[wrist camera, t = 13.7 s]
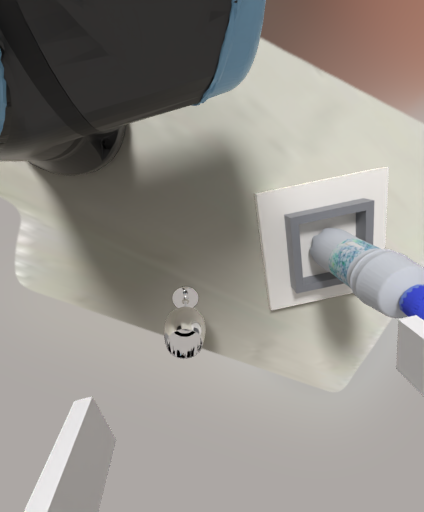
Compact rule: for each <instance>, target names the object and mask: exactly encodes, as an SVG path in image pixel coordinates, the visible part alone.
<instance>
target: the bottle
mask: <svg viewBox="0 0 424 512" xmlns="http://www.w3.org/2000/svg"><path fill="white" fill-rule="evenodd" d="M310 254H311V256H312V257H313V259H314V261H315V262H316V263H317V264H318V265H319V266H321V267H322V268H324V269H325V270H327V271H329V272H330V273H332V274H333V275H334V276H336V277H337V278H338V279H340V280H341V281H342V282H343V283H345V284H346V285H347V286H349V287H350V288H351V289H352V292H353V293H354V294H355V296H357V297H358V298H359V299H360V300H361V301H362V302H363V303H364V304H366V305H368V306H370V307H372V308H374V309H376V310H377V311H379V312H381V313H383V314H384V315H386V316H389V317H392V318H403V317H411V316H415V315H417V316H418V317H420V318H421V319H423V320H424V267H422V266H421V265H419V264H417V263H416V262H414V261H413V260H411V259H410V258H408V257H407V256H406V255H404V254H401V253H397V252H395V251H393V250H389V249H381V248H379V247H376V246H374V245H372V244H370V243H367V242H365V241H363V240H361V239H359V238H357V237H355V236H354V235H352V234H350V233H348V232H347V231H344V230H342V229H337V228H325V229H323V230H322V232H321V233H320V234H318V235H315V236H314V237H313V238H312V247H310Z"/></svg>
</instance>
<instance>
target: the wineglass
mask: <svg viewBox="0 0 424 512" xmlns="http://www.w3.org/2000/svg"><path fill="white" fill-rule="evenodd" d="M198 299H199V297H198V293H197V292H196V290H194V289H193V288H191V287H185V286H184V287H180V288H178V289H177V290H176V291H175V292H174V293H173V296H172V300H173V303H174V305H175V306H176V307H177V308H176V309H175V310H173V311H172V312H171V313H170V314H169V315H168V317H167V319H166V321H165V325H164V338H165V343H166V347H167V349H168V351H169V352H170V354H172V355H173V356H175V357H177V358H181V359H187V358H191V357H194V356H195V355H197V354H198V353H199V352H200V350H201V349H202V346H203V343H204V339H205V332H206V327H205V321H204V319H203V316H202V315H201V313H200V312H199V311H197V310H196V309H194V308H193V307H194V306H195V305H196V304H197V303H198Z"/></svg>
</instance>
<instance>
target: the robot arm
mask: <svg viewBox="0 0 424 512" xmlns="http://www.w3.org/2000/svg"><path fill="white" fill-rule="evenodd" d="M265 2H266V1H265V0H0V161H28V162H30V163H31V164H33V165H35V166H37V167H39V168H41V169H43V170H46V171H48V172H52V173H56V174H61V175H80V174H87V173H91V172H94V171H96V170H98V169H100V168H102V167H103V166H105V165H106V164H107V163H109V162H110V161H111V160H112V159H113V157H114V156H115V155H116V153H117V152H118V150H119V148H120V146H121V144H122V141H123V138H124V133H125V125H126V124H129V123H133V122H136V121H139V120H143V119H146V118H149V117H153V116H156V115H159V114H163V113H166V112H169V111H173V110H176V109H180V108H183V107H186V106H190V105H192V106H197V105H200V103H204V102H205V101H206V100H207V99H208V98H211V97H214V96H217V95H219V94H222V93H225V92H228V91H230V90H232V89H233V88H235V87H236V86H237V85H239V84H240V83H241V82H242V81H243V79H244V78H245V77H246V75H247V73H248V72H249V70H250V68H251V65H252V63H253V61H254V58H255V55H256V52H257V48H258V44H259V40H260V35H261V30H262V24H263V18H264V10H265ZM396 369H397V370H398V371H399V372H400V373H401V374H402V375H403V376H404V377H405V378H406V379H407V380H408V381H409V382H410V383H411V384H412V385H413V386H414V387H415V388H416V389H417V390H418V391H419V392H420V393H421V394H422V395H423V396H424V320H423V319H421V318H420V317H418V316H417V315H415V316H411V317H407V318H403V319H399V320H398V341H397V365H396ZM115 442H116V438H115V436H114V435H113V433H112V431H111V429H110V427H109V425H108V424H107V422H106V420H105V418H104V416H103V415H102V413H101V411H100V409H99V407H98V406H97V404H96V402H95V400H94V398H93V397H89V398H84V399H80V400H76V401H74V403H73V406H72V407H71V410H70V412H69V414H68V416H67V418H66V421H65V423H64V425H63V427H62V430H61V432H60V434H59V436H58V438H57V440H56V443H55V445H54V447H53V449H52V451H51V454H50V456H49V458H48V460H47V462H46V464H45V467H44V469H43V471H42V473H41V475H40V478H39V480H38V482H37V484H36V486H35V488H34V491H33V493H32V495H31V497H30V499H29V502H28V504H27V506H26V508H25V510H24V512H98V511H99V506H100V503H101V499H102V495H103V491H104V487H105V483H106V479H107V475H108V471H109V467H110V462H111V458H112V454H113V450H114V446H115Z"/></svg>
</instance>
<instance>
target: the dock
mask: <svg viewBox="0 0 424 512" xmlns="http://www.w3.org/2000/svg"><path fill="white" fill-rule="evenodd" d="M388 174H389V167H379V168H375V169H370V170H365V171H360V172H355V173H351V174H346V175H341V176H336V177H331V178H326V179H322V180H317V181H312V182H307V183H302V184H298V185H293V186H288V187H283V188H278V189H273V190H269V191H264V192H259V193H254V198H255V205H256V213H257V221H258V228H259V236H260V243H261V251H262V258H263V266H264V274H265V281H266V289H267V296H268V304H269V307H270V309H271V310H276V309H281V308H285V307H290V306H294V305H299V304H304V303H308V302H313V301H318V300H322V299H327V298H332V297H336V296H341V295H346V294H350V293H353V292H352V289H351V288H350V287H349V286H347V285H346V284H345V283H343V282H342V281H341V280H340V279H338V278H337V277H336V276H334V275H333V274H332V273H330V272H329V271H327V270H325V269H324V268H322V267H321V266H319V265H318V264H317V263H316V262H315V261H314V259H313V257H312V256H311V254H310V247H312V238H313V237H314V236H315V235H318V234H320V233H321V232H322V230H323V229H325V228H337V229H342V230H344V231H347V232H348V233H350V234H352V235H354V236H355V237H357V238H359V239H361V240H363V241H365V242H367V243H370V244H372V245H374V246H376V247H379V248H381V249H385V240H386V218H387V196H388Z"/></svg>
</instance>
